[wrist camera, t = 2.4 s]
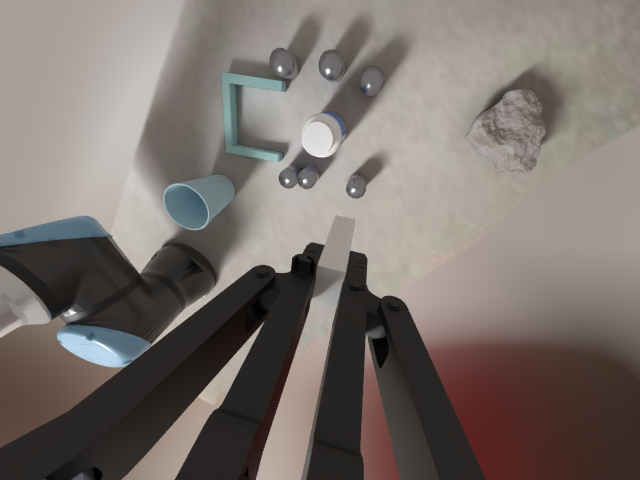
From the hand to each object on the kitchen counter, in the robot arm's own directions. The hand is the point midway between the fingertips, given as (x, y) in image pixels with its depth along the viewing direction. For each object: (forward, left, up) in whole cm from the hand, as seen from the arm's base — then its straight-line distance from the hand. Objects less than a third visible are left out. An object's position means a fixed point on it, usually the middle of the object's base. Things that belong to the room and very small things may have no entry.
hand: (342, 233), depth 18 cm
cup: (-24, -8, -24) cm, 36 cm away
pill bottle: (-5, +5, -24) cm, 25 cm away
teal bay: (-17, +5, -24) cm, 30 cm away
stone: (+18, +8, -25) cm, 32 cm away
